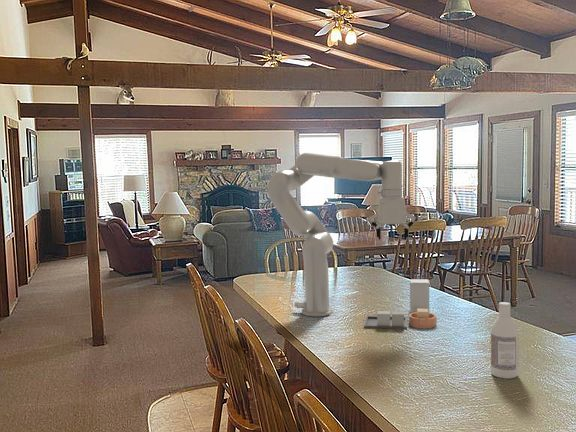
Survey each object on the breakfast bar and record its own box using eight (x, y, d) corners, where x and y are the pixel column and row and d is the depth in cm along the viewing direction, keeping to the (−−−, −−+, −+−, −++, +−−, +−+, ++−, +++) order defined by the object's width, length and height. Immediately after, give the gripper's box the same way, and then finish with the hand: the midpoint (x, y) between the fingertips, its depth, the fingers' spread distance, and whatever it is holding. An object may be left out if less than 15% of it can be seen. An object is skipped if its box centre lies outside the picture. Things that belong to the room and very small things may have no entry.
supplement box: (429, 315, 215) (429, 282, 214) (410, 314, 217) (409, 282, 216) (428, 310, 223) (428, 278, 221) (409, 309, 224) (409, 278, 223)
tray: (364, 328, 199) (364, 325, 199) (366, 319, 212) (366, 316, 212) (407, 330, 196) (406, 326, 196) (406, 320, 209) (406, 317, 209)
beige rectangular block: (417, 325, 200) (417, 311, 200) (417, 321, 204) (417, 308, 204) (428, 325, 199) (428, 311, 199) (427, 322, 204) (427, 308, 203)
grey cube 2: (392, 327, 198) (391, 314, 198) (392, 324, 202) (392, 311, 202) (404, 328, 197) (403, 314, 197) (404, 325, 201) (403, 311, 201)
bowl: (409, 328, 198) (409, 318, 198) (409, 321, 208) (408, 311, 207) (437, 329, 196) (437, 319, 196) (435, 322, 206) (435, 312, 205)
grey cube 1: (377, 327, 199) (377, 313, 199) (377, 324, 203) (377, 311, 203) (390, 327, 198) (390, 314, 198) (390, 324, 202) (390, 311, 202)
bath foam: (496, 368, 158) (496, 299, 156) (521, 373, 153) (521, 302, 152) (487, 375, 153) (487, 304, 151) (512, 381, 148) (513, 307, 146)
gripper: (368, 194, 207) (368, 240, 208) (415, 194, 203) (416, 240, 205) (369, 193, 214) (369, 237, 216) (415, 192, 211) (415, 237, 212)
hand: (392, 239), depth 210 cm, fingers open, 9 cm apart
